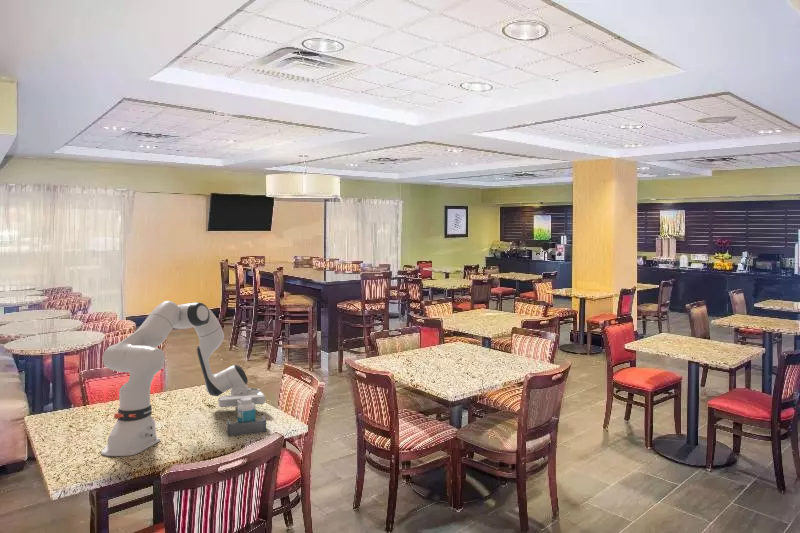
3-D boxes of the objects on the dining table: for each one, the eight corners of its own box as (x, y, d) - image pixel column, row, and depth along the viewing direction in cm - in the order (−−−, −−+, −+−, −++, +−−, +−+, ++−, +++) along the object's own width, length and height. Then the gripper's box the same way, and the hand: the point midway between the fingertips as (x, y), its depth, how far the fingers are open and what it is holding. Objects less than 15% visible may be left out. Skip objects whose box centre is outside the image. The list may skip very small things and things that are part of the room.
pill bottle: (258, 427, 241) (258, 396, 240) (251, 433, 233) (251, 401, 233) (241, 426, 241) (241, 395, 241) (234, 432, 234) (234, 400, 233)
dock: (266, 431, 235) (266, 420, 235) (227, 436, 230) (227, 424, 230) (264, 426, 241) (264, 415, 241) (227, 430, 236) (227, 419, 236)
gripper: (217, 391, 259) (218, 399, 246) (263, 388, 266) (266, 396, 253) (218, 405, 259) (218, 414, 246) (263, 401, 266) (266, 409, 253)
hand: (243, 404), depth 250 cm, fingers closed
